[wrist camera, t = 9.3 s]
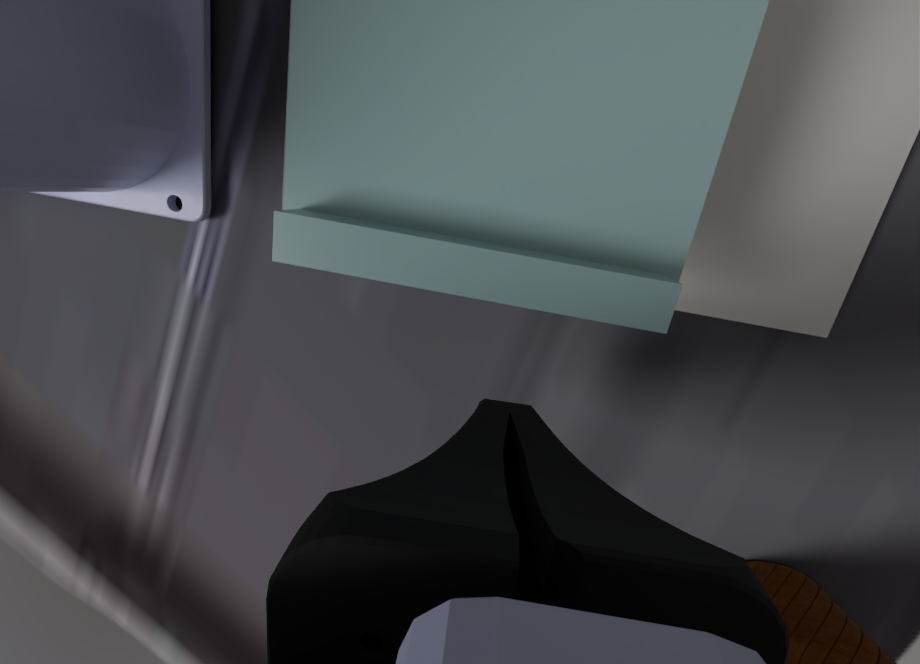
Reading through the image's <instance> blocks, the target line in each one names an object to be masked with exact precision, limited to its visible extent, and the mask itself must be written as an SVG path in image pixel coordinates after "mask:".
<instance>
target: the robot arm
mask: <svg viewBox="0 0 920 664" xmlns="http://www.w3.org/2000/svg"><path fill="white" fill-rule="evenodd" d="M0 192H32V193H37V194H43V195H48V196H54V197H59V198H64V199H70V200H75V201H81V202H86V203H92V204H97V205H103V206H108V207H114V208H119V209H124V210H130V211H135V212H141V213H146V214H152V215H157V216H163V217H168V218H174V219H179V220H184V221H190V222H196V221H203V220H205V219H207V218H208V216H209V215H210V212H211V81H210V0H0ZM177 196H178V197H179V198H180V199H181V201H182V204H183V205H182V209H181V210H179V209H178V207H177V206H176V203H175V200H176V197H177ZM266 609H267V652H268V664H785V662H786V658H787V654H788V651H789V639H788V631H787V626H786V624H785V622H784V621H783V619H782V617H781V615H780V613H779V611H778V609H777V607H776V606H775V604H774V603H773V601H772V600H771V598H770V597H769V595H768V594H767V592H766V591H765V589H764V588H763V586H762V585H761V583H760V582H759V580H758V578H757V577H756V575H755V574H754V572H753V571H752V569H751V568H750V567H749V565H748V564H747V562H746V561H745V560H744V558H741V557H739V556H737V555H735V554H732V553H730V552H728V551H726V550H723V549H721V548H719V547H717V546H714V545H712V544H710V543H708V542H705V541H703V540H701V539H699V538H696V537H694V536H692V535H690V534H688V533H686V532H684V531H682V530H680V529H678V528H676V527H674V526H673V525H671V524H669V523H667V522H665V521H663V520H661V519H659V518H658V517H656V516H654V515H653V514H651V513H649V512H647V511H646V510H644V509H642V508H641V507H639V506H638V505H636V504H635V503H633V502H632V501H630V500H629V499H627V498H626V497H624V496H623V495H621V494H620V493H618V492H617V491H615V490H614V489H613V488H611V487H610V486H609V485H607V484H606V483H605V482H604V481H602V480H601V479H600V478H599V477H597V476H596V475H595V474H594V473H592V472H591V471H590V470H589V469H588V468H587V467H586V466H584V465H583V464H582V463H581V462H580V461H579V460H578V459H577V458H576V457H575V456H574V455H573V454H572V453H571V452H570V451H569V450H568V449H567V448H566V447H565V446H564V445H563V444H562V443H561V441H560V440H559V439H558V438H557V437H556V436H555V435H554V434H553V432H552V431H551V430H550V429H549V428H548V426H547V425H546V424H545V423H544V421H543V420H542V419H541V418H540V416H539V415H538V414H537V412H536V411H535V410H534V409H533V407H532V406H531V405H524V404H517V403H510V402H503V401H497V400H490V399H483V400H482V401H480V402H479V405H478V407H477V409H476V410H475V412H474V413H473V414H472V416H471V417H470V418H469V419H468V421H467V422H466V423H465V424H464V425H463V426H462V428H461V429H460V430H459V431H458V432H457V433H456V434H455V435H453V436H452V437H451V438H450V439H449V440H448V441H447V442H446V443H445V444H444V445H442V446H441V447H440V448H439V449H437V450H436V451H435V452H433V453H432V454H431V455H429V456H428V457H426V458H425V459H423V460H421V461H419V462H418V463H416V464H414V465H412V466H410V467H408V468H406V469H404V470H402V471H400V472H398V473H395V474H393V475H390V476H388V477H385V478H382V479H379V480H377V481H374V482H370V483H367V484H364V485H359V486H355V487H351V488H347V489H343V490H339V491H334V492H329V493H328V494H327V495H326V496H325V498H324V499H323V500H322V501H321V502H320V504H319V505H318V506H317V507H316V509H315V510H314V511H313V512H312V513H311V514H310V516H309V517H308V518H307V519H306V521H305V522H304V523H303V525H302V526H301V527H300V529H299V530H298V532H297V533H296V535H295V536H294V538H293V539H292V541H291V543H290V544H289V546H288V548H287V550H286V551H285V553H284V555H283V556H282V558H281V560H280V561H279V563H278V565H277V567H276V569H275V571H274V572H273V574H272V576H271V578H270V580H269V585H268V591H267V598H266Z"/></svg>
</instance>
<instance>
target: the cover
mask: <svg viewBox="0 0 920 664" xmlns="http://www.w3.org/2000/svg"><path fill="white" fill-rule="evenodd" d="M769 1H770V0H292V7H291V30H290V53H289V77H288V100H287V123H286V146H285V170H284V193H283V210H276V211H274V225H273V252H272V261H275V262H281V263H286V264H292V265H297V266H302V267H308V268H313V269H318V270H324V271H329V272H335V273H340V274H345V275H351V276H356V277H362V278H367V279H372V280H378V281H383V282H389V283H394V284H399V285H405V286H410V287H415V288H421V289H426V290H432V291H437V292H442V293H448V294H453V295H459V296H464V297H469V298H475V299H480V300H486V301H491V302H496V303H502V304H507V305H513V306H518V307H523V308H529V309H534V310H539V311H545V312H550V313H556V314H561V315H566V316H572V317H577V318H583V319H588V320H593V321H599V322H604V323H610V324H615V325H620V326H626V327H631V328H636V329H642V330H647V331H653V332H658V333H663V334H667V331H668V328H669V325H670V322H671V319H672V316H673V313H674V310H675V307H676V304H677V301H678V297H679V294H680V291H681V288H682V285H683V284H681V283H679V280H680V276H681V273H682V270H683V267H684V264H685V261H686V258H687V255H688V252H689V249H690V245H691V242H692V239H693V236H694V233H695V230H696V227H697V224H698V221H699V218H700V215H701V211H702V208H703V205H704V202H705V199H706V196H707V193H708V190H709V187H710V184H711V180H712V177H713V174H714V171H715V168H716V165H717V162H718V159H719V156H720V153H721V149H722V146H723V143H724V140H725V137H726V134H727V131H728V128H729V125H730V122H731V118H732V115H733V112H734V109H735V106H736V103H737V100H738V97H739V94H740V91H741V88H742V84H743V81H744V78H745V75H746V72H747V69H748V66H749V63H750V60H751V57H752V53H753V50H754V47H755V44H756V41H757V38H758V35H759V32H760V29H761V26H762V22H763V19H764V16H765V13H766V10H767V7H768V4H769Z"/></svg>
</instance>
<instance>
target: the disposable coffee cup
mask: <svg viewBox="0 0 920 664" xmlns="http://www.w3.org/2000/svg"><path fill="white" fill-rule="evenodd" d="M747 564H748V565H749V567H750V568H751V569H752V571H753V572H754V574H755V575H756V577H757V578H758V580H759V582H760V583H761V585H762V586H763V588H764V589H765V591H766V592H767V594H768V595H769V597H770V598H771V600H772V601H773V603H774V604H775V606H776V607H777V609H778V611H779V613H780V615H781V617H782V619H783V621H784V622H785V624H786V626H787V631H788V639H789V651H788V654H787V658H786V662H785V664H896V663H895V661H894V660H892V659H891V658H890V657H889V656H888V655H887V654H886V653H885V652H884V651H883V650H882V649H881V648H880V647H879V646H878V645H877V644H876V643H875V642H874V641H873V640H872V639H871V638H870V637H869V636H868V635H867V634H866V633H865V632H864V631H863V630H862V629H861V628H860V627H859V626H858V625H857V624H856V623H855V622H854V621H853V620H852V619H851V618H850V617H849V616H848V615H847V614H846V613H845V612H844V611H843V610H842V609H841V608H840V607H839V606H838V605H837V604H836V603H835V602H834V601H833V600H832V599H831V598H830V597H829V596H828V595H827V594H826V593H825V592H824V591H823V590H822V589H821V588H820V587H819V586H818V585H817V583H816V582H815V581H813V580H812V579H811V578H809V577H808V576H806V575H805V574H803V573H802V572H799V571H797V570H794V569H792V568H789V567H787V566H784V565H780V564H775V563H770V562H762V561H747Z"/></svg>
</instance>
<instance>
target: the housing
mask: <svg viewBox="0 0 920 664" xmlns="http://www.w3.org/2000/svg"><path fill="white" fill-rule="evenodd" d="M291 7H292V0H291V4H290V28H289V51H288V75H287V99H286V122H285V146H286V123H287V100H288V77H289V53H290V30H291ZM919 130H920V0H770V1H769V4H768V7H767V10H766V13H765V16H764V19H763V22H762V26H761V29H760V32H759V35H758V38H757V41H756V44H755V47H754V50H753V53H752V57H751V60H750V63H749V66H748V69H747V72H746V75H745V78H744V81H743V84H742V88H741V91H740V94H739V97H738V100H737V103H736V106H735V109H734V112H733V115H732V118H731V122H730V125H729V128H728V131H727V134H726V137H725V140H724V143H723V146H722V149H721V153H720V156H719V159H718V162H717V165H716V168H715V171H714V174H713V177H712V180H711V184H710V187H709V190H708V193H707V196H706V199H705V202H704V205H703V208H702V211H701V215H700V218H699V221H698V224H697V227H696V230H695V233H694V236H693V239H692V242H691V245H690V249H689V252H688V255H687V258H686V261H685V264H684V267H683V270H682V273H681V276H680V280H679V283H681V284H683V285H682V288H681V291H680V294H679V297H678V301H677V304H676V307H675V310H677V311H682V312H688V313H693V314H699V315H704V316H710V317H715V318H721V319H726V320H731V321H737V322H742V323H748V324H753V325H759V326H764V327H770V328H775V329H781V330H786V331H792V332H797V333H802V334H808V335H813V336H819V337H824V338H827V337H828V335H829V332H830V330H831V328H832V326H833V323H834V321H835V319H836V317H837V314H838V312H839V310H840V308H841V305H842V303H843V301H844V299H845V296H846V294H847V292H848V290H849V287H850V285H851V283H852V281H853V278H854V276H855V274H856V272H857V269H858V267H859V265H860V263H861V260H862V258H863V256H864V254H865V251H866V249H867V247H868V245H869V242H870V240H871V238H872V236H873V233H874V231H875V229H876V227H877V224H878V222H879V220H880V218H881V215H882V213H883V211H884V209H885V206H886V204H887V202H888V200H889V197H890V195H891V193H892V191H893V188H894V186H895V184H896V182H897V179H898V177H899V175H900V173H901V170H902V168H903V166H904V164H905V161H906V159H907V157H908V155H909V152H910V150H911V148H912V146H913V143H914V141H915V139H916V137H917V134H918V132H919ZM285 146H284V169H283V193H284V170H285ZM283 193H282V210H283Z"/></svg>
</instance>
